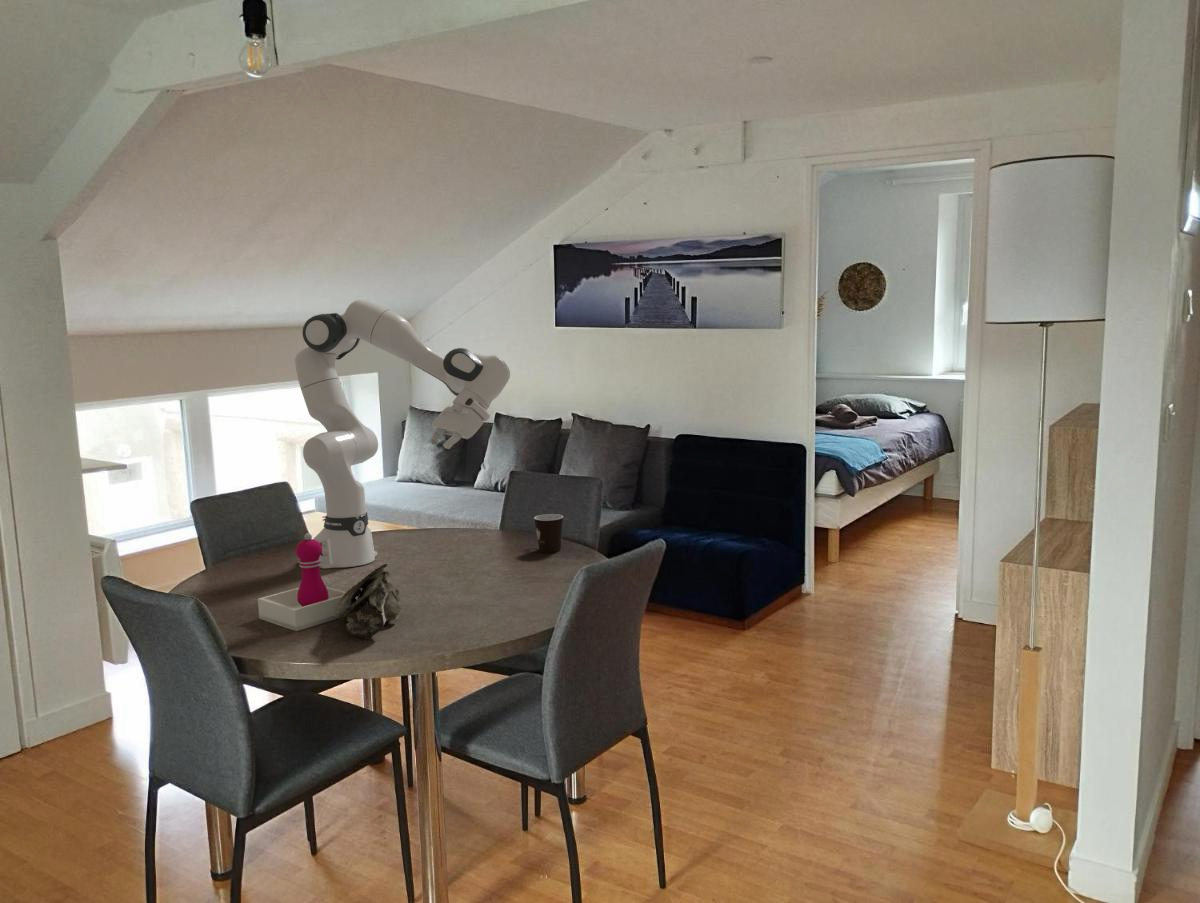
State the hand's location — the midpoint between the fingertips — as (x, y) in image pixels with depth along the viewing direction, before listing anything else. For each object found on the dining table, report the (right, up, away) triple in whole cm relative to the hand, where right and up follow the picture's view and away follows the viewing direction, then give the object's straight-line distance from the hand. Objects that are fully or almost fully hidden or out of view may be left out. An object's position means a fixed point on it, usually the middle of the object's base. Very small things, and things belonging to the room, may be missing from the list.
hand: (438, 445), depth 273 cm
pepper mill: (-24, -41, -33) cm, 58 cm away
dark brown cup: (+29, -31, +26) cm, 50 cm away
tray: (-27, -42, -31) cm, 58 cm away
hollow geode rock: (-10, -43, -41) cm, 60 cm away
